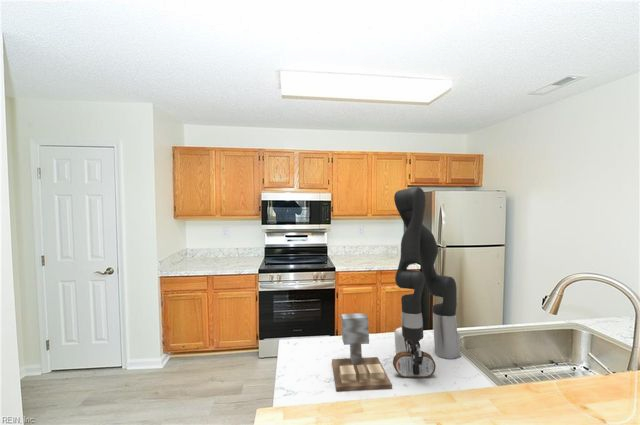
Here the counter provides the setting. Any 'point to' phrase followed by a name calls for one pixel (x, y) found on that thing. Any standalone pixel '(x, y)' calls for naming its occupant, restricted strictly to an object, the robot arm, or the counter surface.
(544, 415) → the counter surface
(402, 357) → the tin
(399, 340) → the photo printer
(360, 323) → the display stand
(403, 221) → the robot arm
